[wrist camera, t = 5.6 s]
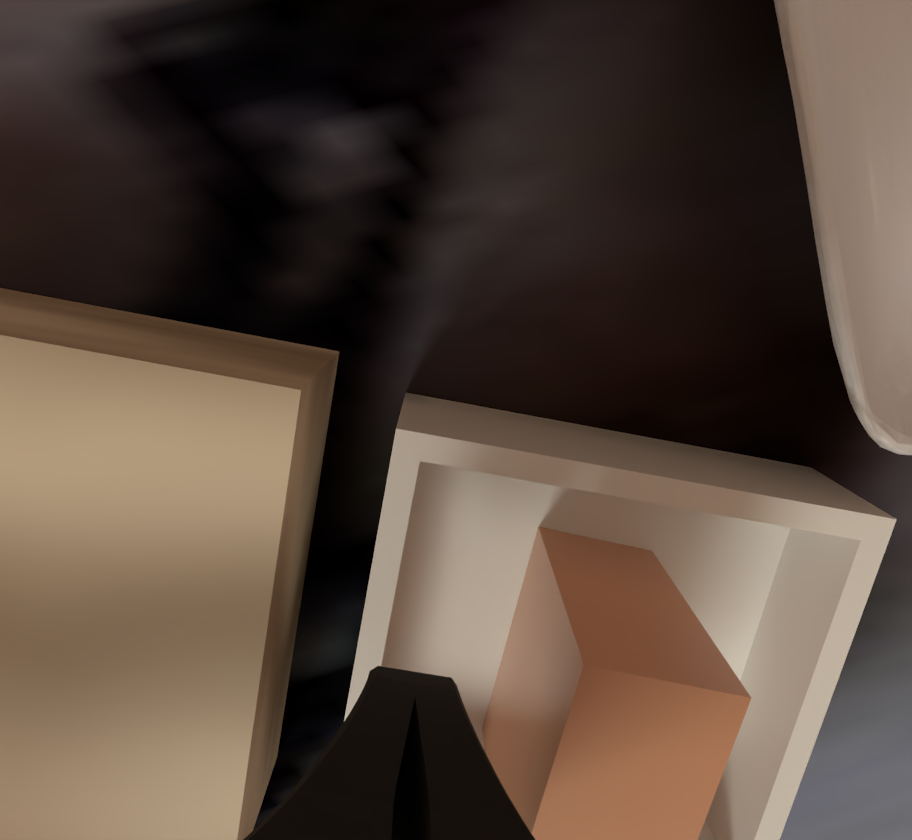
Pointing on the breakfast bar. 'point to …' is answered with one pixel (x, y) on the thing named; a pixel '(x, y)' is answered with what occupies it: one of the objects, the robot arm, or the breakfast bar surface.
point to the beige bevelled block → (148, 567)
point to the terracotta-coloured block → (609, 698)
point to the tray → (633, 524)
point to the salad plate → (860, 191)
